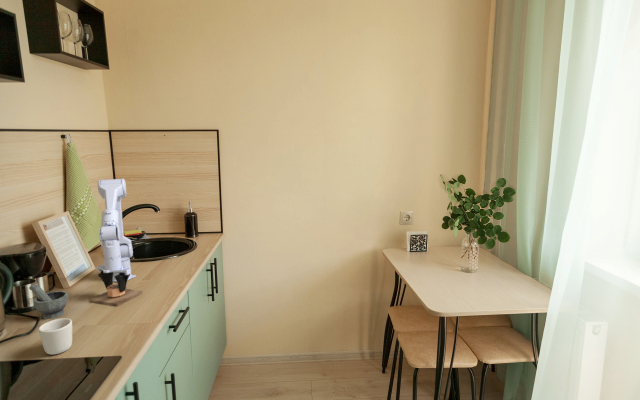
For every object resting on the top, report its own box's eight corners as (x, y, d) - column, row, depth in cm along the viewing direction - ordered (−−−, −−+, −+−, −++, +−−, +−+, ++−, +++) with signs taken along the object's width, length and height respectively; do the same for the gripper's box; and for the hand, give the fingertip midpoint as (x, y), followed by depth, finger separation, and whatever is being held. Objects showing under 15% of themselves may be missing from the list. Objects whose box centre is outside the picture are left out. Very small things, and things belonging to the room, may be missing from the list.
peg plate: (90, 302, 141) (88, 289, 140) (116, 289, 152) (115, 277, 151) (117, 306, 137) (116, 293, 136) (142, 293, 148) (140, 281, 147)
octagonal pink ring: (104, 295, 142) (103, 288, 142) (116, 289, 148) (116, 282, 147) (116, 297, 141) (115, 290, 140) (128, 291, 146) (127, 284, 146)
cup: (58, 338, 116) (55, 314, 114) (85, 336, 116) (82, 312, 115) (35, 358, 105) (31, 332, 104) (65, 356, 106) (61, 330, 104)
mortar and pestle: (75, 308, 136) (71, 276, 134) (61, 320, 127) (56, 287, 125) (42, 310, 135) (37, 278, 133) (25, 322, 125) (20, 289, 123)
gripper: (88, 258, 140) (92, 292, 142) (118, 261, 136) (122, 296, 138) (104, 252, 147) (108, 285, 149) (133, 255, 142) (137, 289, 145)
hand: (116, 290), depth 144 cm, fingers closed on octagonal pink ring, 6 cm apart
